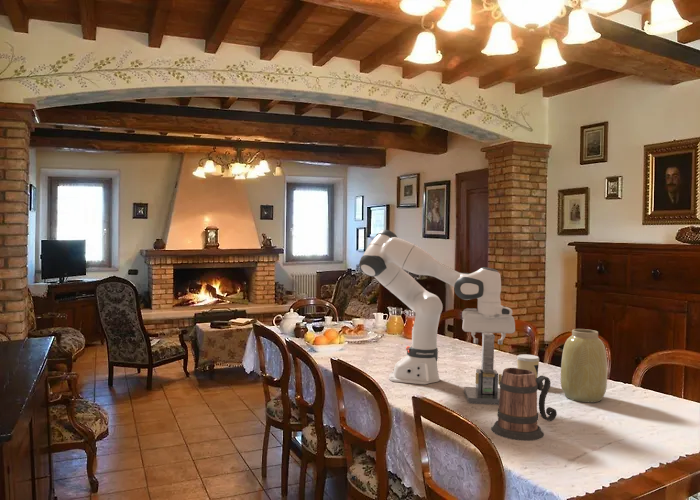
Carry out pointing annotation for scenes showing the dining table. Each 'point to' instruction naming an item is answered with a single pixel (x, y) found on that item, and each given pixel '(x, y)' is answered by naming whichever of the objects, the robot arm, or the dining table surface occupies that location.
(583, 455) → the dining table surface
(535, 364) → the coffee cup
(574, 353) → the vase
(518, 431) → the tankard
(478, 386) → the stand base
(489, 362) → the column
